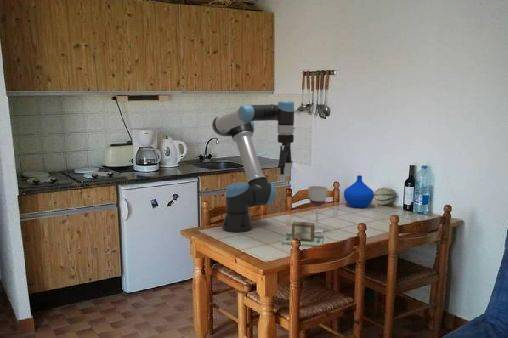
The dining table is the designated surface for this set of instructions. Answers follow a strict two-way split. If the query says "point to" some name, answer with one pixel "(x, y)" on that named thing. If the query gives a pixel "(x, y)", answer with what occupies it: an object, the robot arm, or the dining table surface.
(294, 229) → the frame
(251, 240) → the dining table surface
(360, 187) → the vase
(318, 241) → the ledge board
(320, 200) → the wineglass
